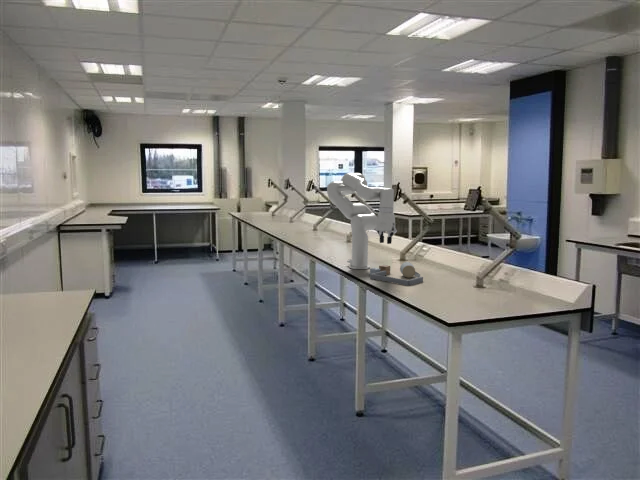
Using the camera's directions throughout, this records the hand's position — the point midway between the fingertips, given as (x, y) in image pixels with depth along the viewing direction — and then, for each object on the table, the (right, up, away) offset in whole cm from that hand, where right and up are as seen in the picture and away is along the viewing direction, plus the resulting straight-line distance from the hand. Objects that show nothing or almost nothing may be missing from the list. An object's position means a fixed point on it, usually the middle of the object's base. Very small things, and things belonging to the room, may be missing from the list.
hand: (385, 242), depth 286 cm
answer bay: (+3, -19, -16) cm, 25 cm away
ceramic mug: (+13, -19, -6) cm, 23 cm away
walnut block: (0, -17, +2) cm, 17 cm away
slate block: (-6, -18, -4) cm, 20 cm away
